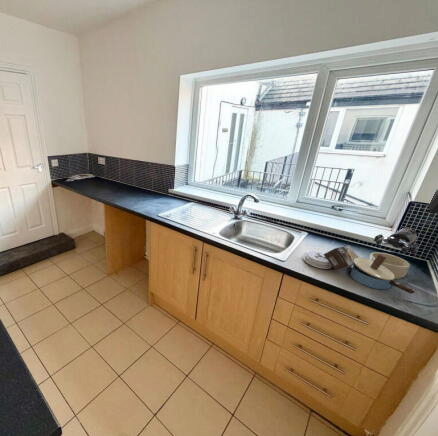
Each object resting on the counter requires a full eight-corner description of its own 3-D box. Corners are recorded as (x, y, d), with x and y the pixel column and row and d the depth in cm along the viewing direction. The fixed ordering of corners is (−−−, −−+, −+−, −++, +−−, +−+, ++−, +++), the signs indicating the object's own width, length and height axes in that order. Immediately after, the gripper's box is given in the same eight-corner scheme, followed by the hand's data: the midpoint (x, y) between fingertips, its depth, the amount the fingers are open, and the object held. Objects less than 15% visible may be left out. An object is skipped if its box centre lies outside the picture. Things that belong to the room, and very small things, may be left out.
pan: (419, 295, 100) (424, 286, 98) (401, 303, 95) (405, 294, 93) (361, 269, 118) (364, 261, 117) (343, 275, 113) (346, 266, 112)
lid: (337, 272, 116) (340, 263, 114) (308, 268, 119) (310, 259, 117) (326, 258, 127) (328, 250, 125) (299, 255, 130) (301, 247, 128)
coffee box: (336, 251, 125) (322, 253, 116) (349, 244, 120) (335, 247, 112) (349, 267, 120) (335, 271, 112) (363, 261, 116) (349, 265, 107)
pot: (410, 275, 114) (416, 263, 111) (394, 281, 109) (399, 269, 107) (376, 261, 125) (380, 250, 123) (359, 266, 121) (364, 255, 118)
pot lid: (400, 278, 105) (412, 263, 101) (381, 283, 100) (393, 268, 96) (364, 258, 117) (374, 244, 113) (345, 261, 111) (355, 246, 108)
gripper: (385, 227, 123) (373, 233, 115) (425, 237, 112) (415, 245, 104) (380, 240, 126) (367, 247, 118) (419, 251, 114) (408, 260, 106)
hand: (390, 246), depth 111 cm, fingers open, 8 cm apart
